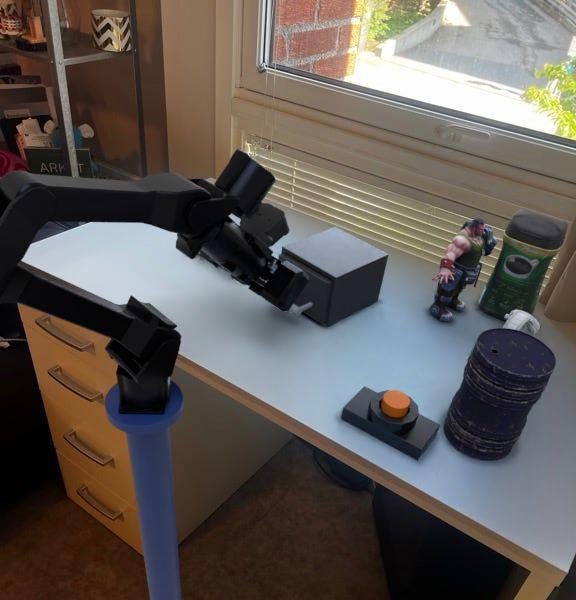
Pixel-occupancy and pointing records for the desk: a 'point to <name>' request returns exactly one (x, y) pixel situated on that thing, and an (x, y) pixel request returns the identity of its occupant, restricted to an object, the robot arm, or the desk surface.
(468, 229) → the action figure
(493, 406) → the navy cylinder
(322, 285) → the open black drawer
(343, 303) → the black drawer cabinet
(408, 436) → the button panel
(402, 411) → the button
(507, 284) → the coffee jar
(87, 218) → the robot arm
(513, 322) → the watch
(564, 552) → the desk surface
